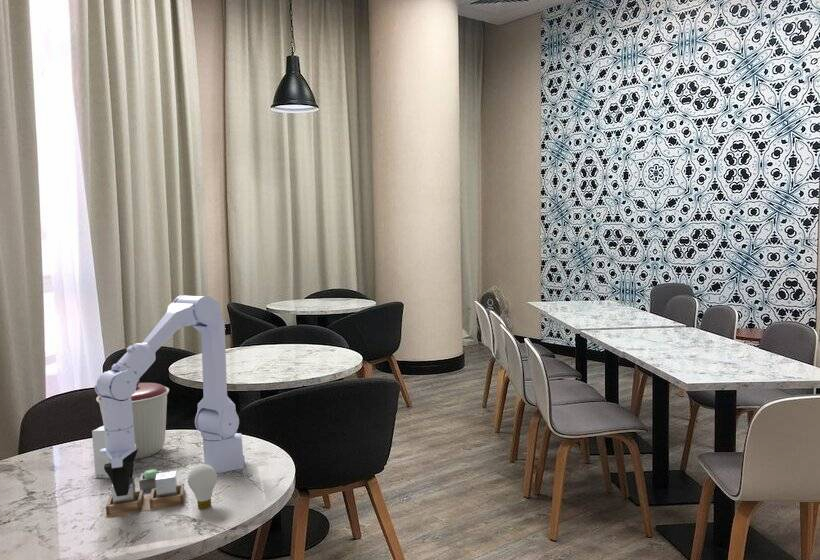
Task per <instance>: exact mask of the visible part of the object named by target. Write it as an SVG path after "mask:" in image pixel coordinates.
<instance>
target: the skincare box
mask: <svg viewBox="0 0 820 560" xmlns="http://www.w3.org/2000/svg"><path fill="white" fill-rule="evenodd" d="M91 435H92V438H91V439H92V447H93V461H94V475H95V478H103V479H105V478H106V479H109V478H110V477H109V475H108V474H107V473H106V472H105V470H104V465H105V464H108V463H111V459H110V458H109V457H108V456H107V455H106V454H100V450H101V449H102V448H106V443H105V431H104V425H102V426H99V427H97V428H96V429H94V430H91Z"/></svg>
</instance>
